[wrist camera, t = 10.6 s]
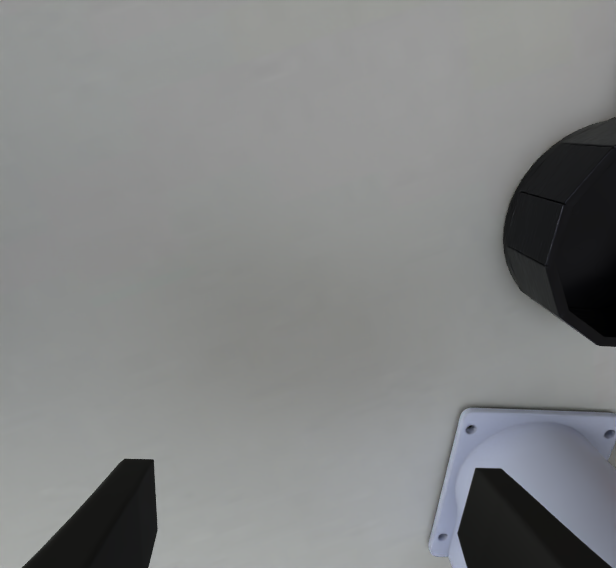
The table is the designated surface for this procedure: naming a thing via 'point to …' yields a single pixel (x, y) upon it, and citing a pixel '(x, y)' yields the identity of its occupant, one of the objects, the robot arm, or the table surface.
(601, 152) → the pan
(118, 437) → the table surface
